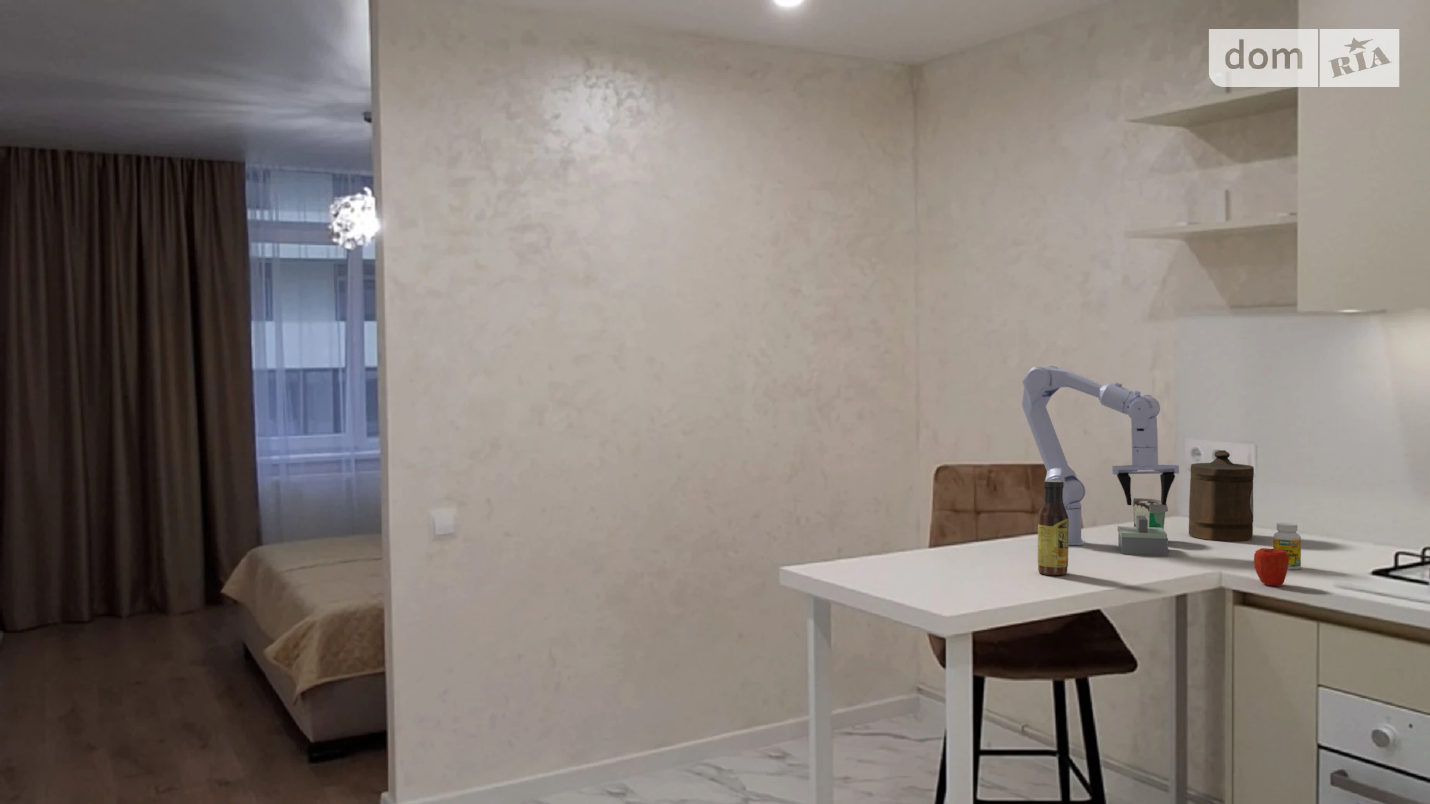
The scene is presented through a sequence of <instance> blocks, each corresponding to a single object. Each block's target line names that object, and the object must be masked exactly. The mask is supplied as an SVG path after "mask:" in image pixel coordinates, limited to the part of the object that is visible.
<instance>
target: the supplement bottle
mask: <svg viewBox="0 0 1430 804" xmlns="http://www.w3.org/2000/svg"><path fill="white" fill-rule="evenodd" d="M1276 530H1277V532H1275V533H1274V534H1273V536H1272V543H1273V545H1272V546H1273V547H1272V549H1279V550H1283V551H1285V552H1286V553H1287V554H1288V556H1289V563H1288V569H1287V571H1294V570H1295V571H1297V570H1300V569H1301V567H1302V550H1301V549H1302V537H1301V535H1300V534H1299V533H1297V532H1298V524H1297V523H1292V522H1277V523H1276Z"/></svg>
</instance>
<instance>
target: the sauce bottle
mask: <svg viewBox="0 0 1430 804" xmlns="http://www.w3.org/2000/svg"><path fill="white" fill-rule="evenodd" d="M1063 487H1064V485H1063V481H1058V480H1047V481H1045V480H1043V489H1044V499H1043V501H1044V502H1043V504H1042V506H1041V507H1040V509H1039V511H1038V523H1037V525H1038V526H1037V567H1038V568H1037V571H1038V573H1040V574H1041V575H1044V576H1045V575H1046V576H1063V575H1066V574H1067V573H1068V567H1069V545H1068V535H1069V533H1068V530H1069V518H1068V515H1067V512H1066V509H1065V507H1064V504H1063Z"/></svg>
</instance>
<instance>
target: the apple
mask: <svg viewBox="0 0 1430 804" xmlns="http://www.w3.org/2000/svg"><path fill="white" fill-rule="evenodd" d="M1288 563H1289V556H1288V554H1287V553H1286V552H1285V551H1283V550H1279V549H1273V548H1269V547H1267V548H1266V547H1263V548H1262V547H1261V548H1258V549H1257V550H1256V551H1255V553H1254V554H1253V566H1254V570H1255V572H1256V575H1257V577H1258V579H1259V581H1260V582H1261V583H1262V584H1264V585H1266V586H1270V587H1271V586H1272V587H1281V586H1282V585H1283V584H1284V583H1285V580H1286V577H1287V573H1288V570H1287V569H1288Z"/></svg>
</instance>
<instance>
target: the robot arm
mask: <svg viewBox="0 0 1430 804" xmlns="http://www.w3.org/2000/svg"><path fill="white" fill-rule="evenodd" d="M1022 385H1023V394H1022V404H1021V405H1022V410H1023V412H1024V414H1025V417H1026V420H1027V423H1028V425H1029V428H1030V430H1031V433H1032V436H1033V438H1034V440H1035V443H1036V444H1035V445H1036V446H1037V448H1038V451H1039V455H1040V457H1041V459H1042V462H1043V465H1044V467H1045V469H1046V470H1045V471H1046V475H1045V480H1044V481H1047V480H1058V481H1063V485H1064V487H1063V504H1064V507H1065V509H1066V512H1067V515H1068V518H1069V530H1068V533H1069V535H1068V546H1069V545H1070V546H1072V545H1073V546H1084V545H1085V543H1084V540H1083V538H1082V503H1081V502H1082V500H1084V498H1085V495H1086V487H1085V484H1084V483H1083V481H1081V480H1080V479H1079V478H1078V477H1077V475H1076V472H1075V470H1074V469H1072V468H1071V467H1070V465H1069V464H1068V461H1067V459H1066V456H1065V453H1064V451H1063V448H1062V446H1061V443H1060V441H1059V438H1058V435H1057V432H1056V429H1055V428H1054V425H1053V422H1052V420H1051V417H1050V415H1049V411H1048V409H1047V405H1048V403H1049V402H1050V400H1051V399H1052V396H1053V395H1055V393H1057V392H1058V391H1059V389H1062V388H1070V389H1073V390H1075V391H1079V392H1080V393H1084V394H1086V395H1089V396H1093V397H1096V398H1098V400H1099V403H1100V404H1101V406H1104V407H1106V408H1108V409H1111V410H1114V411H1116V412H1120V413H1121V414H1124V415H1128V417H1129V418H1130V419H1131V421H1130V423H1131V429H1130V430H1131V433H1130V434H1131V462H1132V464H1128V465H1127V464H1125V465H1112V468H1111V469H1112V475H1114V476H1116V477H1117V480H1118V481H1119V483H1120V485H1121V488H1122V489H1123V492H1124V495H1125V501H1126V505H1127V506H1132V492H1131V491H1132V490H1131V489H1132V488H1131V484H1132V477H1131V475H1148V474H1151V475H1152V474H1153V475H1155V474H1158V475H1159V474H1160V475H1159V477H1160V486H1161V487H1160V500H1161V504H1162V505H1166V504H1167V499H1168V495H1169V492H1170V490H1171V487H1172V484H1173V482H1174V480H1175V478H1176V475H1175V474H1180V465H1179V464H1159V443H1158V442H1159V441H1158V439H1159V436H1158V434H1159V433H1158V418H1157V416H1158V415H1159V413H1160V411H1161V406H1160V402H1159V401H1158V399H1156V398H1155V397H1153V396H1152V395H1150V394H1145V395H1141V394H1142V393H1141V391H1139V390H1135V391H1134V390H1130V389H1128V388H1126V387H1123V383H1120V382H1115V383H1113V382H1110V383H1107V384H1105V385H1103V384H1102V383H1100V382H1097V381H1094V380H1091V379H1090V378H1087V377H1085V376H1082V374H1078V373H1076V372H1074V371H1071V370H1068V369H1066V368H1060V367H1058V366H1054V365H1049V366H1034V367H1032V368H1030V369H1029V370H1028V371H1027V373H1026V374H1025V376H1024V378H1023V379H1022Z"/></svg>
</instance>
